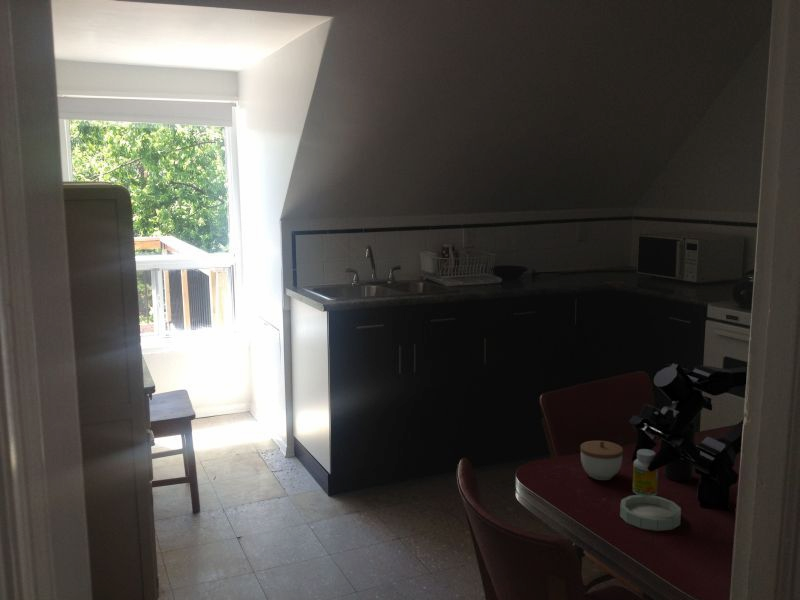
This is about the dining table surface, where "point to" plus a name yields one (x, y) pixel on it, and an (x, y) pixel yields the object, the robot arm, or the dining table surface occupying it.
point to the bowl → (650, 512)
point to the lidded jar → (601, 459)
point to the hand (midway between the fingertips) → (640, 465)
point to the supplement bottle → (644, 474)
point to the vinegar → (681, 462)
